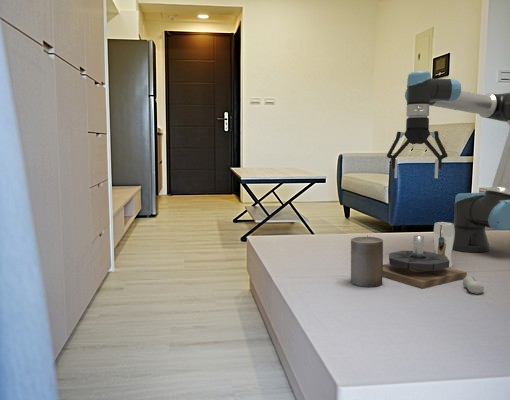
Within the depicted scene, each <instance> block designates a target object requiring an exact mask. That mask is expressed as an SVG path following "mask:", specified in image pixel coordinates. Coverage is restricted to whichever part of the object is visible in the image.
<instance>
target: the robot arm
mask: <svg viewBox="0 0 510 400" xmlns="http://www.w3.org/2000/svg"><path fill="white" fill-rule="evenodd" d="M431 75H432V74H431V72H430V71H426V70H418V71H413V72H410V73H408V75H407V81H406V82H407V83H406V90H405V94H404V97H405V98H404V99H405V100H406V117H407V118H406V120H405V123H406V124H405V131H397V132H396V136H395V137H396V138H395V139H394V141H393V142H392V145H391V147H390V148H389V150H388V151H387V154H386V158H388V159H390V160H391V169H394V179H398V159H396V158H398V156H399V155H400V154H401V153H402V152H403V151H404V150H405V149H406V147H407V146H408V145H409V144H411V145H416V144H417V145H422V144H424V145H425V146H426V147H427V148H428V149H429V150H430V151H431V153H432V154H433V155H434V156H435V157H436V158H437V159H434V179H438V178H439V170H440V169H442V165H443V164H442V163H443V159H445V158H448V153H447V151H446V149H445V147H444V144H443V143H442V141H441V139H440V137H439V135H440V134H439V131H438V130H435V131H430V130H429V129H430V118H429V116H430V106H431V107H437V108H443V109H447V110H448V109H449V110H454V111H461V112H466V113H470V114H471V113H472V114H477V115H479V116H480V117H481V118H485V119H490V120H493V121H499V122H505V123H507V124H508V126H509V127H510V92H505V93H486V94H481V93H475V92H470V91H465V90H462V85H461V83H460V81H459V80H457V79H453V78H433V77H432V76H431ZM508 130H509V131H508V132H507V136H506V140H505V144H504V146H503V149H502V153H501V156H500V159H499V163H498V164H497V165H498V166H497V168H496V172H495V176H494V179H493V181H492V184H491V187H490V188H487V189H486V190H485V192H466V193H465V192H464V193H457V194H456V195H455V200H454V209H453V211H454V217H453V218H454V219H453V223H454V224H455V240H454V245H453V249H452V251H453V250H454V251H459V252H462V253H463V252H466V253H486V252H489V250H490V243H489V239H488V235H487V232H486V228H489V229H493V230H497V231H499V230H500V231H510V129H508ZM403 136H404V137H405V138H406V141H404V143H403V144H401V146H400V147H399V148H398V149H397V151H396V152H395V153H393V152H394V151H395V149H396V146H397V145H398V143H399V141H400V139H401V138H403ZM430 136H431V138H434V141H435V143H436V145H437V147H438V149H439V151H440V153H441V154H440V153H439V152H438V151H437V149H436V148H435V147H434V146H433V145H432V143H431V142H430V141H429V140H428V138H429V137H430ZM392 154H393V155H392Z"/></svg>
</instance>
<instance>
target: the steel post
mask: <svg viewBox="0 0 510 400" xmlns="http://www.w3.org/2000/svg"><path fill="white" fill-rule="evenodd" d="M412 243H413V246H412V248H413V249H412V251H413V258H415V259H423V254H424V251H425V249H424V248H425V246H424V245H425V236H424V235H417V234H416V235H413V242H412ZM416 271H422V270H416Z"/></svg>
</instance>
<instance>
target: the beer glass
mask: <svg viewBox="0 0 510 400" xmlns="http://www.w3.org/2000/svg"><path fill="white" fill-rule="evenodd" d="M454 240H455V224H454V222H445V221H438V222H435V223H434V226H433V247H434V253H436V254H440V255H445V256H446V257H447V258H448V260H449V268H452V267H453V261H452V253H453V245H454Z"/></svg>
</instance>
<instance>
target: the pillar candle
mask: <svg viewBox="0 0 510 400" xmlns="http://www.w3.org/2000/svg"><path fill="white" fill-rule="evenodd" d="M383 253H384V240H383V239H382V238H381V237H375V236H369V235H368V234H367V235H366V236H357V237H352V238H350V283H351V285H352V284H353V285H355V286H358V287H364V288H372V287H373V288H375V287H379V286H382V285H383V276H382V275H383V265H384V263H383V262H384V258H383V257H384V254H383Z"/></svg>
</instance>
